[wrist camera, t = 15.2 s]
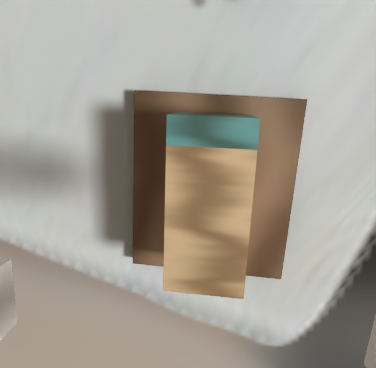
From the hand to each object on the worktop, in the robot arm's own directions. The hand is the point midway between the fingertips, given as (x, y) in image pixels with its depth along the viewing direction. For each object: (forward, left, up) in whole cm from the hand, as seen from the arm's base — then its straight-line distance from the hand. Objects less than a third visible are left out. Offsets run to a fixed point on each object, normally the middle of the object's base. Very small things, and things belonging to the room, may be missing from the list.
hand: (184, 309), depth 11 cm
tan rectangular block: (0, -7, -14) cm, 15 cm away
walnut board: (0, 0, -18) cm, 18 cm away
